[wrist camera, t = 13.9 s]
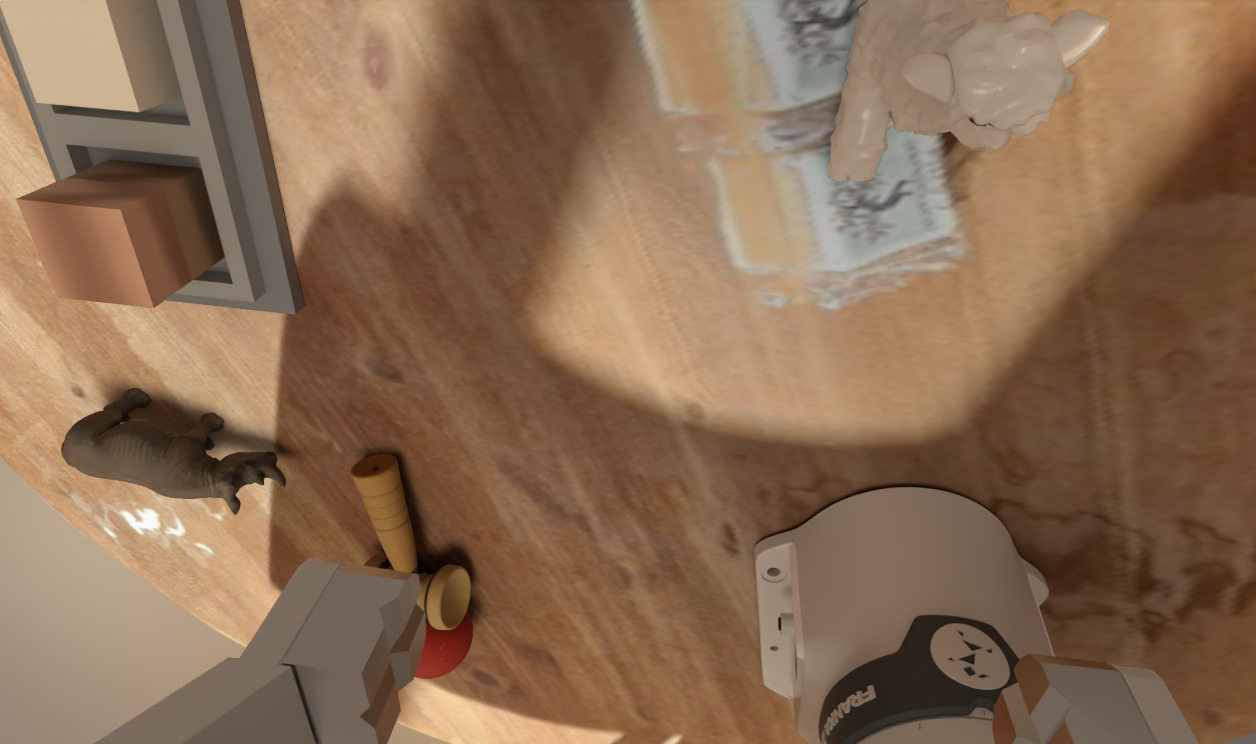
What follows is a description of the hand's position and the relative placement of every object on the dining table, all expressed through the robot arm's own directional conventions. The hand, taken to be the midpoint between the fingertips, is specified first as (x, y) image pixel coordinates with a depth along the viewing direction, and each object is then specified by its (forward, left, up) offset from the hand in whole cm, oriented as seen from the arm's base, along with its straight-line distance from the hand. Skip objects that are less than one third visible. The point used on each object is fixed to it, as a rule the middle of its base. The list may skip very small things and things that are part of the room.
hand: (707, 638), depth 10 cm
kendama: (-32, +18, -30) cm, 47 cm away
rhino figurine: (-24, +32, -30) cm, 49 cm away
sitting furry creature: (+3, -8, -29) cm, 31 cm away
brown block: (-7, +29, -28) cm, 41 cm away
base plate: (-3, +29, -29) cm, 41 cm away
